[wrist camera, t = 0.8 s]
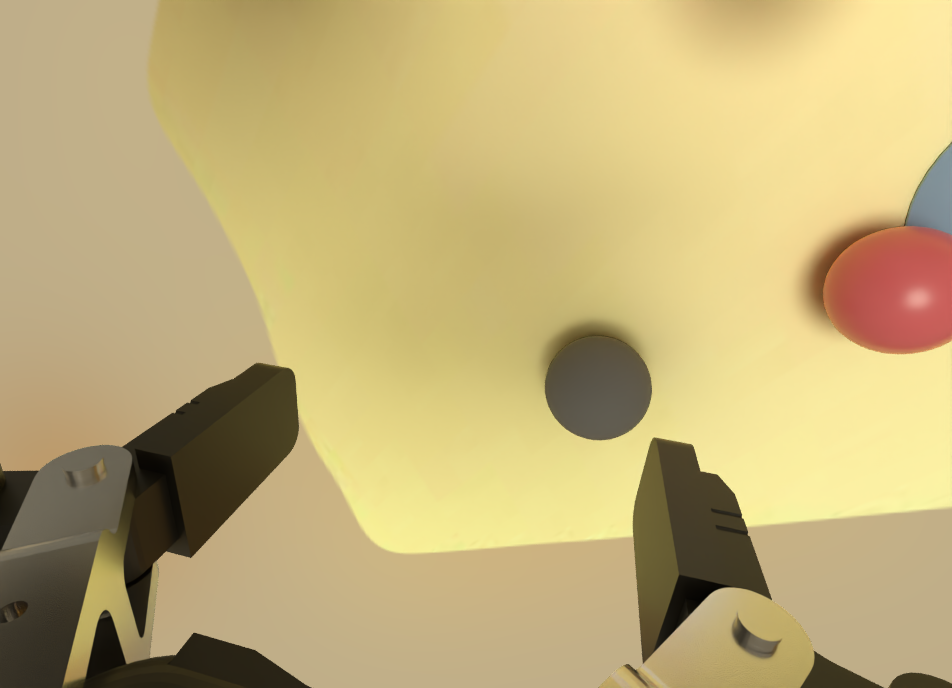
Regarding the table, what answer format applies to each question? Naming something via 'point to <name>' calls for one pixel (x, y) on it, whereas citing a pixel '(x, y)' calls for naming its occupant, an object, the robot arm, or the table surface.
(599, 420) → the dark gray ball
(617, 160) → the table surface
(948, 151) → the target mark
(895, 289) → the object ball
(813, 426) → the table surface
